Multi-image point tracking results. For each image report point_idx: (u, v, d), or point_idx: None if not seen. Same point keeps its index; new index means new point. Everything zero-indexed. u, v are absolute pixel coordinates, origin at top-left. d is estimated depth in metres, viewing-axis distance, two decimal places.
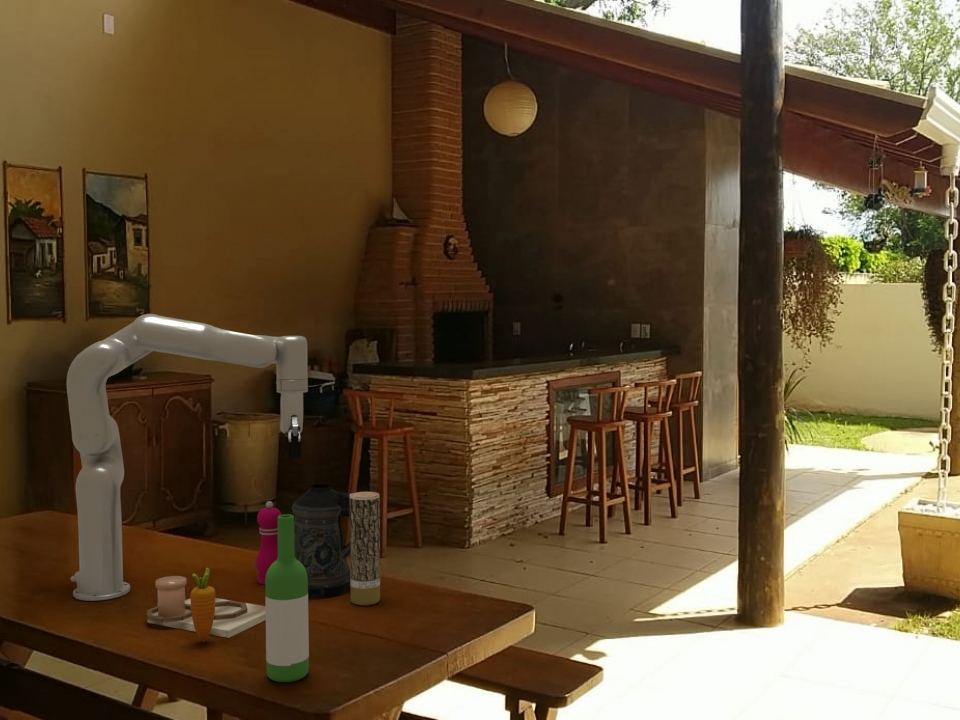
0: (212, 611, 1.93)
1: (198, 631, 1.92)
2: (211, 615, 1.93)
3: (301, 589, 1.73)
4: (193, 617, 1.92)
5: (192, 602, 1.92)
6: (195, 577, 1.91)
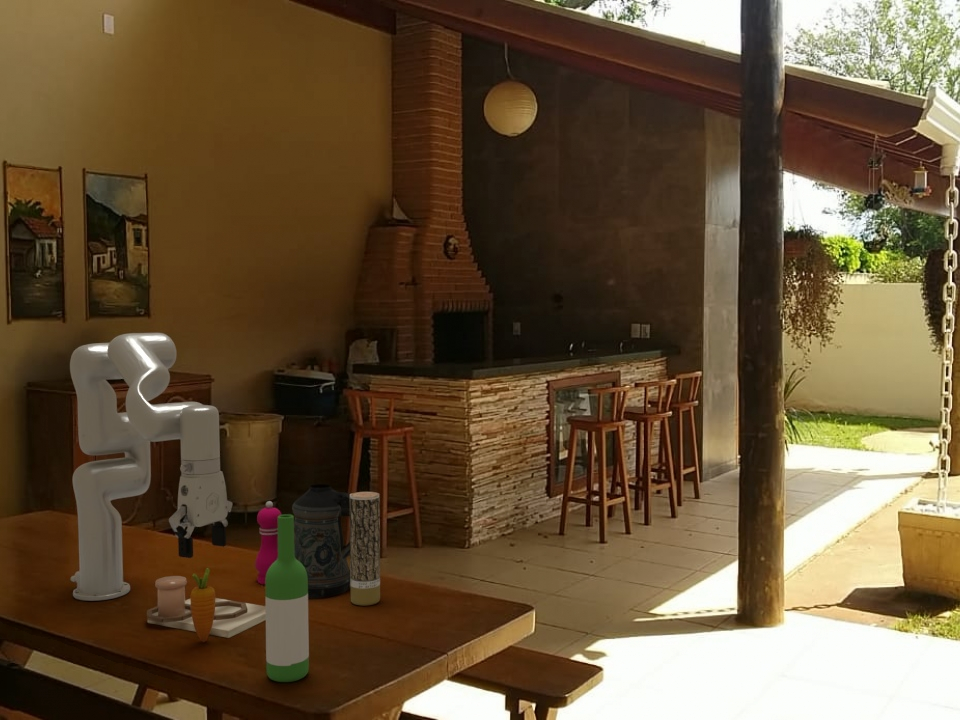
0: (212, 611, 1.93)
1: (198, 631, 1.92)
2: (211, 615, 1.93)
3: (301, 589, 1.73)
4: (193, 617, 1.92)
5: (192, 602, 1.92)
6: (195, 577, 1.91)
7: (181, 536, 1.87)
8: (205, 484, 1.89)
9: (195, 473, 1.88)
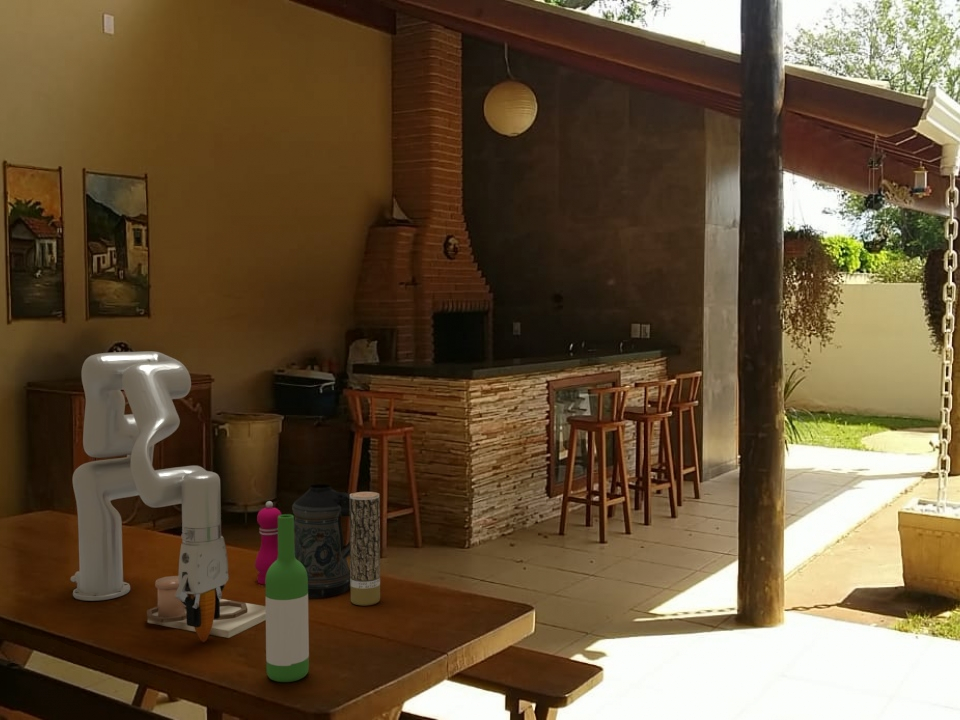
0: (212, 611, 1.93)
1: (198, 631, 1.92)
2: (211, 615, 1.93)
3: (301, 589, 1.73)
4: None
5: None
6: None
7: (189, 606, 1.90)
8: (206, 551, 1.90)
9: (196, 541, 1.89)
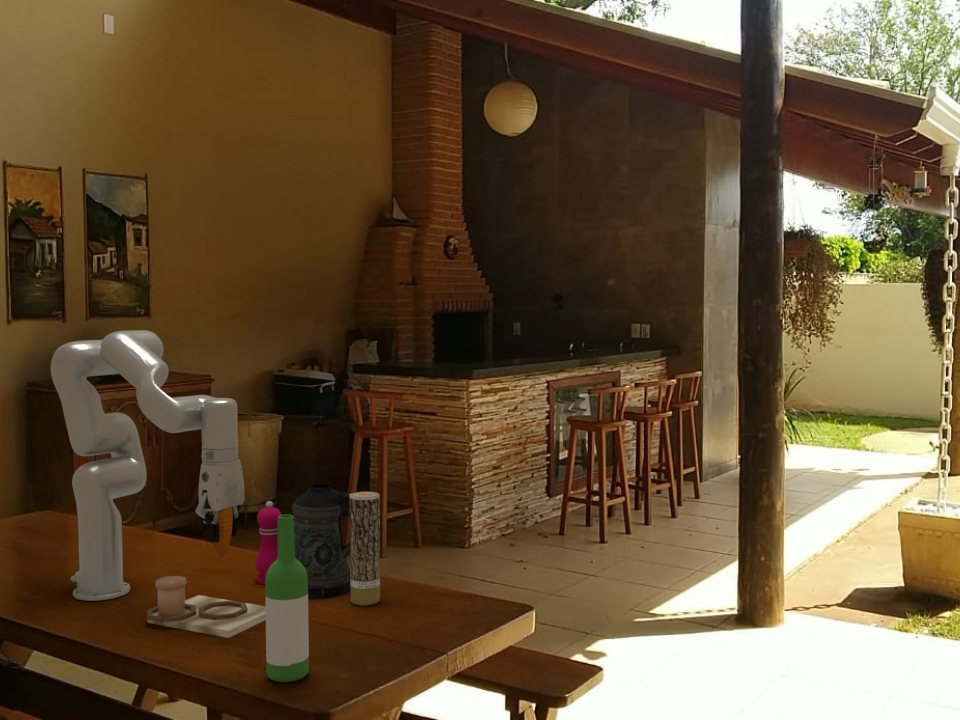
0: (230, 528, 2.06)
1: (217, 547, 2.06)
2: (229, 532, 2.06)
3: (301, 589, 1.73)
4: None
5: None
6: None
7: (208, 522, 2.03)
8: (224, 471, 2.03)
9: (215, 461, 2.02)
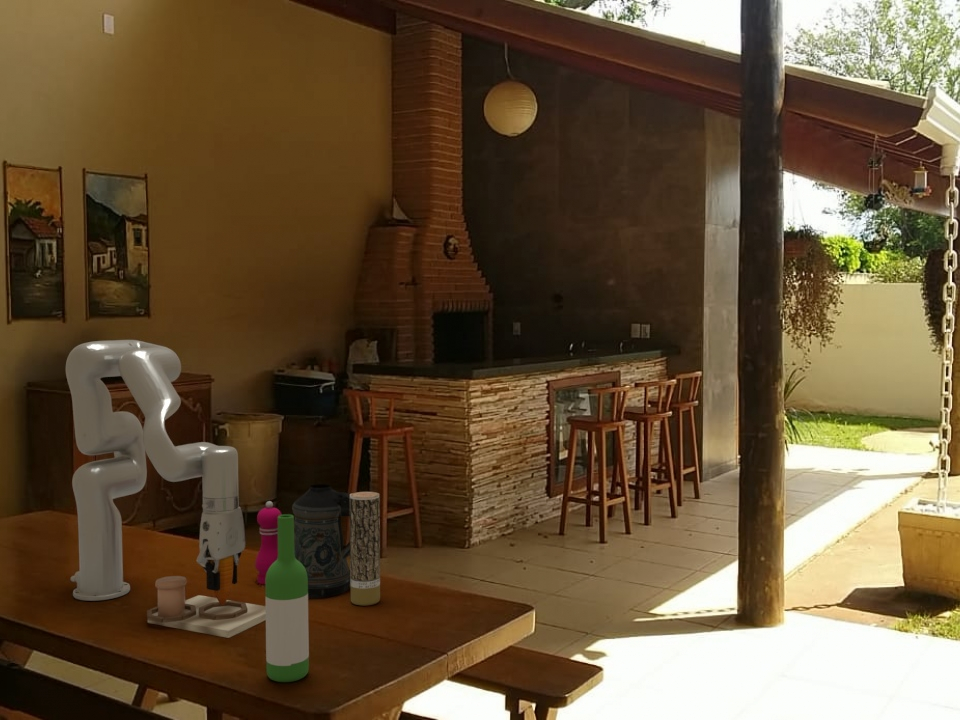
0: (231, 576, 2.07)
1: (217, 595, 2.07)
2: (229, 580, 2.07)
3: (301, 589, 1.73)
4: None
5: None
6: None
7: (209, 571, 2.04)
8: (225, 520, 2.04)
9: (216, 510, 2.03)
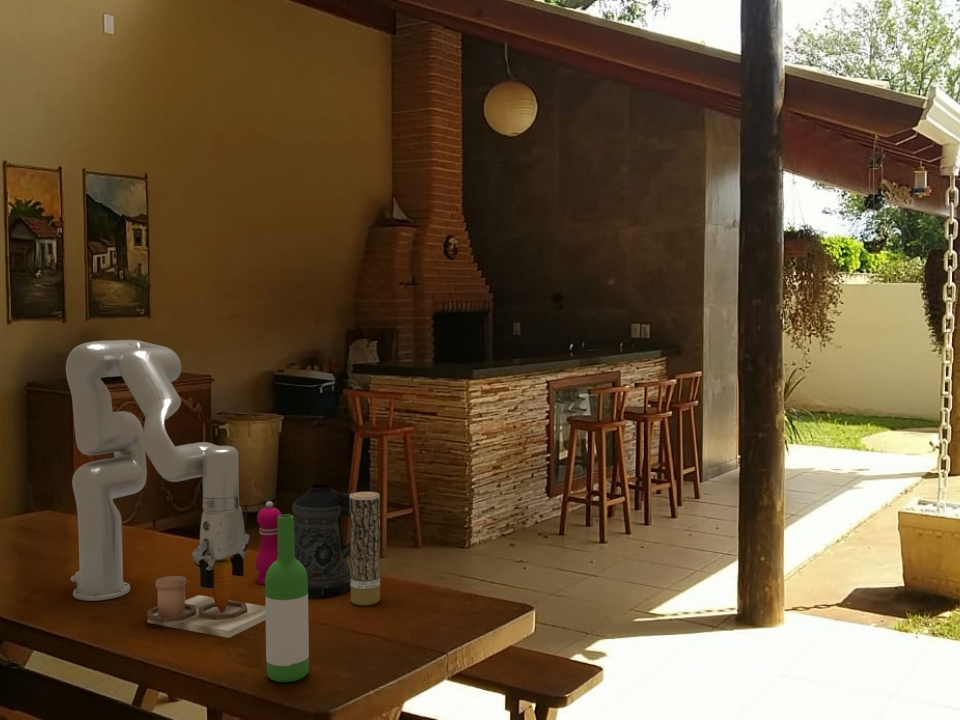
0: (230, 582, 2.07)
1: (217, 601, 2.07)
2: (229, 586, 2.07)
3: (301, 589, 1.73)
4: (212, 588, 2.06)
5: None
6: None
7: (203, 568, 2.02)
8: (225, 520, 2.04)
9: (216, 510, 2.03)
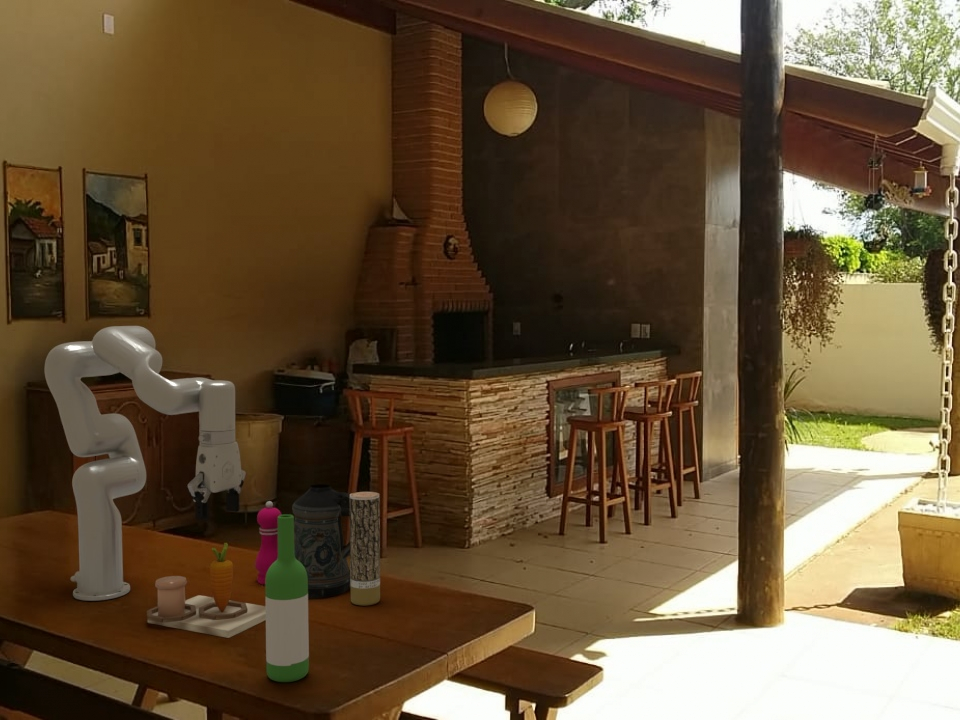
0: (231, 582, 2.07)
1: (217, 601, 2.07)
2: (229, 586, 2.07)
3: (301, 589, 1.73)
4: (212, 588, 2.06)
5: (212, 574, 2.06)
6: (214, 551, 2.06)
7: (198, 501, 2.02)
8: (221, 453, 2.04)
9: (212, 443, 2.03)
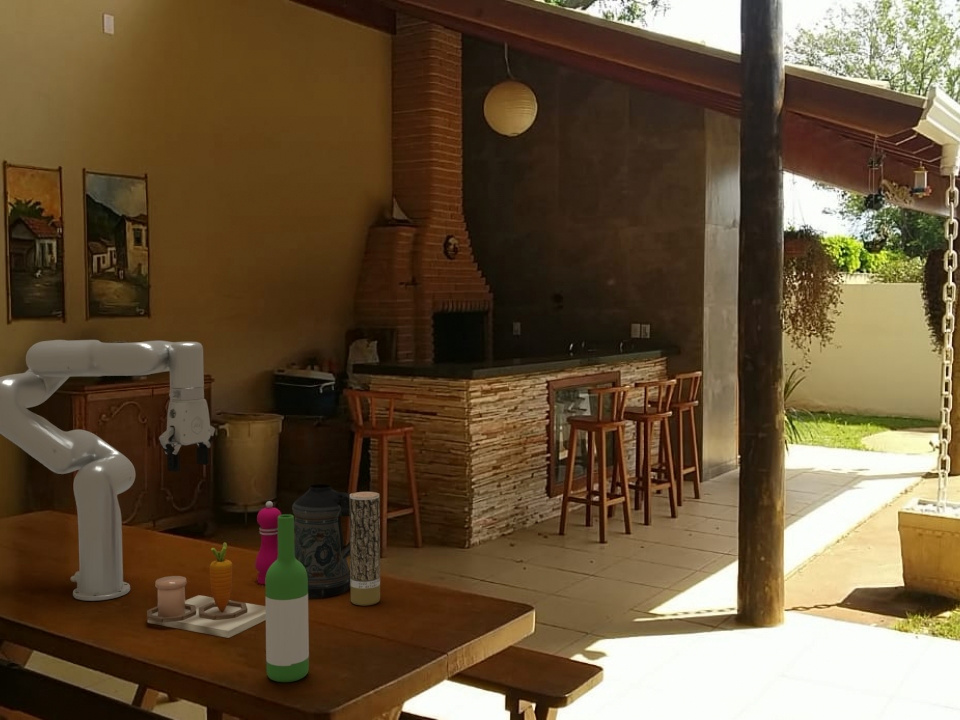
0: (230, 582, 2.07)
1: (217, 601, 2.07)
2: (229, 586, 2.07)
3: (301, 589, 1.73)
4: (212, 588, 2.06)
5: (211, 574, 2.06)
6: (214, 551, 2.06)
7: (169, 452, 2.17)
8: (191, 409, 2.19)
9: (182, 399, 2.18)
